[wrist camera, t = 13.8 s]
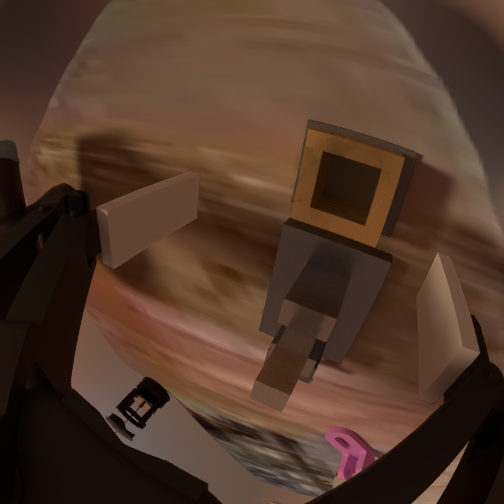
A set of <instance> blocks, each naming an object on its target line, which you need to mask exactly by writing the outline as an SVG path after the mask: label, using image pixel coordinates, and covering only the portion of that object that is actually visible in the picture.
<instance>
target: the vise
mask: <svg viewBox="0 0 504 504" xmlns="http://www.w3.org/2000/svg"><path fill="white" fill-rule="evenodd" d="M391 264H392V255H391V254H389V253H386V252H383V251H381V250H378V249H375V248H373V247H370V246H367V245H365V244H362V243H359V242H357V241H354V240H351V239H348V238H346V237H343V236H340V235H337V234H335V233H332V232H329V231H326V230H323V229H321V228H318V227H315V226H312V225H309V224H306V223H303V222H300V221H297V220H294V219H291V218H289V219H288V220H287V221H286V222H285V223H284V224H283V227H282V232H281V237H280V241H279V246H278V250H277V255H276V259H275V264H274V268H273V272H272V277H271V281H270V285H269V290H268V294H267V298H266V303H265V307H264V311H263V315H262V320H261V324H260V328H259V331H262V332H264V333H266V334H268V335H271V336H273V337H275V338H274V339H273V341H272V343H271V346H270V348H269V349H268V352H267V356H266V359H265V362H264V366H263V368H262V370H261V371H260V373H259V374H258V376H257V378H256V379H255V382H254V385H253V389H252V392H251V395H250V398H251V399H253V400H255V401H257V402H259V403H262V404H264V405H266V406H268V407H271V408H273V409H275V410H277V411H280V412H282V410H283V409H284V407H285V405H286V403H287V401H288V399H289V397H290V395H291V393H292V391H293V389H294V387H295V385H296V383H297V381H298V380H301V381H303V382H306V383H312V381H313V378H312V377H313V375H314V373H315V371H316V369H317V367H318V364H319V362H320V359H321V357H324V358H327V359H329V360H332V361H334V362H337V363H340V364H341V362H342V361H343V359H344V357H345V355H346V354H347V352H348V350H349V349H350V347H351V345H352V343H353V341H354V340H355V338H356V336H357V334H358V332H359V330H360V329H361V327H362V325H363V323H364V321H365V319H366V317H367V315H368V313H369V311H370V309H371V307H372V305H373V303H374V301H375V299H376V297H377V295H378V293H379V291H380V289H381V287H382V284H383V282H384V280H385V278H386V276H387V273H388V271H389V269H390V267H391Z"/></svg>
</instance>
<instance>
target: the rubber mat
mask: <svg viewBox="0 0 504 504" xmlns="http://www.w3.org/2000/svg"><path fill="white" fill-rule="evenodd" d="M314 128H324V129H328V130H331V131H335V132H339V133H342V134H346V135H349V136H353V137H356V138H360V139H363V140H366V141H369V142H372V143H375V144H378V145H381V146H384V147H387V148H390V149H393V150H396V151H399V152H401V153H402V154H403V156H404V158H405V159H404V163H403V167H402V170H401V174H400V177H399V181H398V184H397V187H396V190H395V194H394V197H393V200H392V203H391V206H390V209H389V212H388V215H387V218H386V221H385V224H384V226H383V229H382V232H381V234H383V235H385V236H388V237H391V234H392V231H393V229H394V226H395V223H396V220H397V218H398V215H399V212H400V209H401V206H402V203H403V200H404V197H405V194H406V191H407V188H408V185H409V181H410V178H411V175H412V171H413V168H414V164H415V161H416V157H417V154H418V153H417V152H414V151H411V150H409V149H406V148H403V147H401V146H398V145H395V144H392V143H389V142H386V141H383V140H380V139H377V138H374V137H371V136H368V135H365V134H362V133H358V132H355V131H351V130H348V129H344V128H341V127H337V126H333V125H329V124H326V123H322V122H318V121H313V120H308V124H307V129H306V134H305V139H304V144H303V149H302V154H301V159H300V164H299V169H298V174H297V178H296V183H295V188H294V193H293V197H292V202H291V203H293V202H294V197H295V192H296V188H297V183H298V178H299V173H300V168H301V164H302V159H303V154H304V149H305V144H306V139H307V134H308V129H314ZM380 170H381V169H379V168H376V167H373V166H370V165H367V164H364V163H361V162H358V161H355V160H352V159H348V158H345V157H342V156H338V155H335V154H332V155H331V159H330V164H329V168H328V172H327V176H326V181H325V185H324V189H323V193H322V194H325V195H328V196H331V197H334V198H337V199H340V200H343V201H346V202H349V203H352V204H355V205H358V206H361V207H364V208H366V209H369V208H370V205H371V201H372V198H373V195H374V191H375V188H376V185H377V181H378V178H379V174H380Z"/></svg>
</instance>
